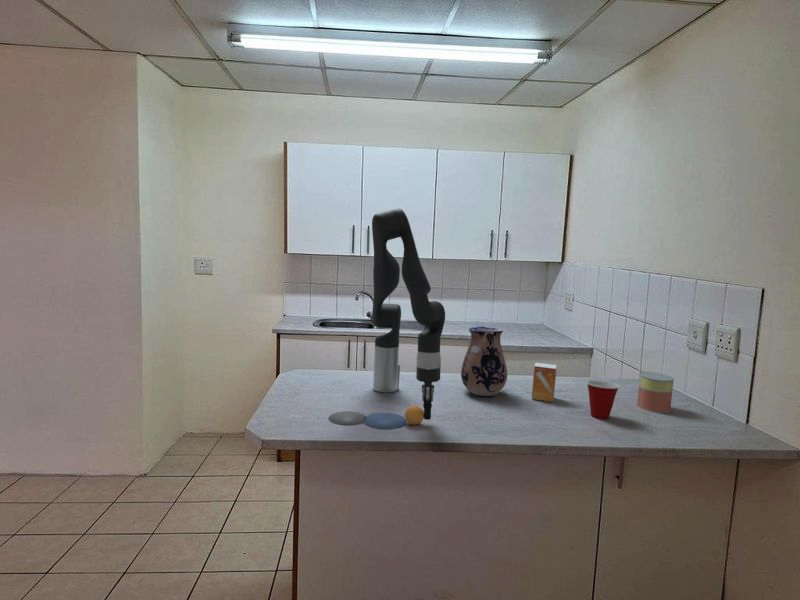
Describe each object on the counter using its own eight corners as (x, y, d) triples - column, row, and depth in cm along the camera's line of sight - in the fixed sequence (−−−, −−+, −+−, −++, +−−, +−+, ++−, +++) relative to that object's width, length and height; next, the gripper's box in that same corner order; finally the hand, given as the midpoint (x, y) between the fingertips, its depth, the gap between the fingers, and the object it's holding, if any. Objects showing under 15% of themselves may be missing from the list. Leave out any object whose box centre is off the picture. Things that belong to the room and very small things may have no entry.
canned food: (674, 408, 192) (678, 377, 190) (665, 415, 183) (668, 382, 182) (642, 400, 199) (645, 370, 198) (632, 407, 191) (635, 375, 189)
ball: (423, 414, 167) (408, 404, 167) (430, 410, 162) (414, 399, 162) (414, 430, 164) (399, 419, 164) (421, 426, 159) (405, 415, 159)
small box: (531, 399, 194) (534, 365, 193) (532, 394, 200) (534, 362, 199) (553, 402, 192) (556, 368, 190) (554, 397, 198) (556, 364, 196)
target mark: (385, 410, 175) (385, 409, 175) (415, 422, 165) (415, 421, 165) (354, 419, 165) (354, 419, 165) (384, 432, 155) (384, 432, 155)
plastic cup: (615, 413, 182) (618, 380, 181) (617, 423, 172) (621, 389, 171) (583, 409, 186) (586, 376, 184) (583, 418, 176) (586, 384, 174)
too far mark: (349, 409, 174) (350, 408, 174) (374, 419, 166) (374, 418, 166) (321, 417, 166) (321, 416, 166) (345, 428, 158) (345, 427, 158)
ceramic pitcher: (469, 401, 189) (474, 334, 186) (450, 384, 210) (454, 323, 207) (513, 399, 193) (518, 333, 190) (491, 383, 214) (495, 323, 211)
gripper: (417, 360, 168) (416, 411, 170) (415, 369, 155) (414, 425, 157) (440, 360, 168) (439, 412, 170) (440, 370, 155) (439, 426, 157)
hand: (427, 418), depth 163 cm, fingers closed
